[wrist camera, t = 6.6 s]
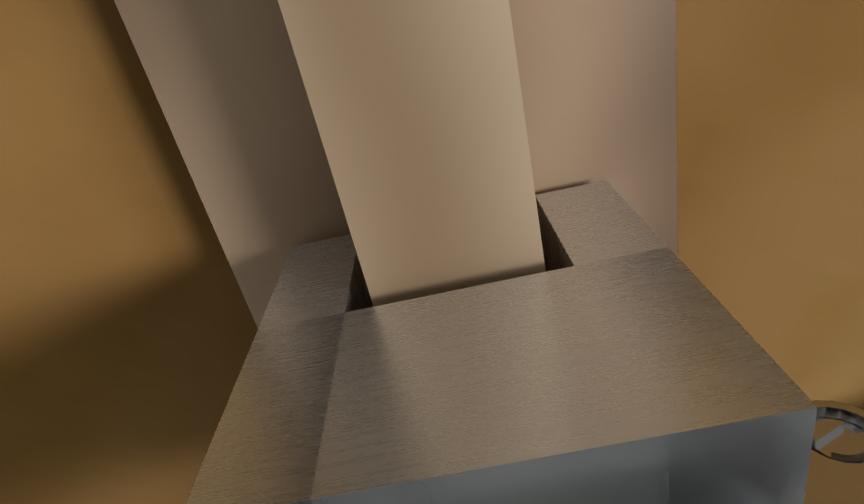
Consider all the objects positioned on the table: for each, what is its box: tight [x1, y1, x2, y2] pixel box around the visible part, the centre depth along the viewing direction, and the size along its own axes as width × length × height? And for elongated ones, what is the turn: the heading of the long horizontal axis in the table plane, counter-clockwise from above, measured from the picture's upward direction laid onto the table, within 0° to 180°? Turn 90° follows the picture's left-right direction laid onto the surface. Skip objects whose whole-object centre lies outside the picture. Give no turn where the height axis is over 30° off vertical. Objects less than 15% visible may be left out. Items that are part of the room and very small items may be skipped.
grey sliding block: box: [186, 180, 817, 504], centre depth 10 cm, size 7×6×7 cm
